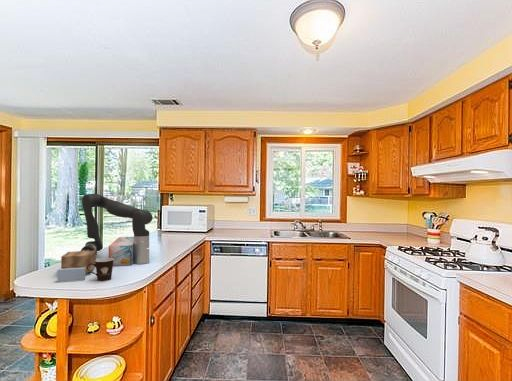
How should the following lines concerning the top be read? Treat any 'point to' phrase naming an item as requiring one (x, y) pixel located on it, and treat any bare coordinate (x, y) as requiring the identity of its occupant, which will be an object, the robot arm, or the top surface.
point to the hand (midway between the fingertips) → (82, 256)
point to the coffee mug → (103, 268)
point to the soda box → (122, 251)
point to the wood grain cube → (78, 260)
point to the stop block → (70, 274)
